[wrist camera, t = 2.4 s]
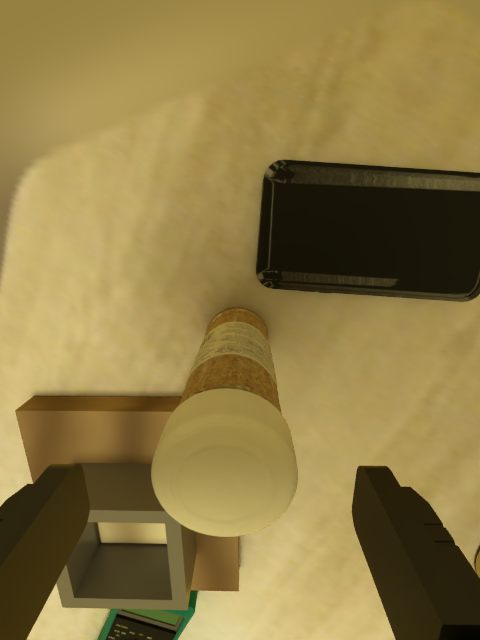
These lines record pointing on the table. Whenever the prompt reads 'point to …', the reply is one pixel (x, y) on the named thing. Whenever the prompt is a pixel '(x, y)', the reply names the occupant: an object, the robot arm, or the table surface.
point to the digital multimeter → (147, 623)
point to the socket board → (118, 447)
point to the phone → (370, 230)
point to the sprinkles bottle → (227, 436)
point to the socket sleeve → (127, 547)
